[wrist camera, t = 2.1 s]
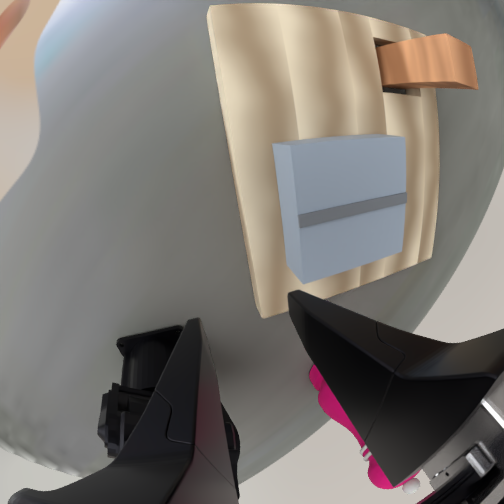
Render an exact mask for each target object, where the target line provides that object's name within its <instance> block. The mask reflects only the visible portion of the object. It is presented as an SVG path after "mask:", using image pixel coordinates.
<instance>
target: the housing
mask: <svg viewBox="0 0 504 504" xmlns="http://www.w3.org/2000/svg"><path fill="white" fill-rule="evenodd" d="M272 147H273V154H274V161H275V169H276V176H277V184H278V192H279V200H280V208H281V217H282V226H283V235H284V244H285V253H286V263H287V266H288V267H289V268H290V269H291V271H292V272H293V273H294V274H295V275H296V277H297V278H298V279H299V280H300V281H301V283H302V284H306V283H310V282H313V281H316V280H319V279H322V278H325V277H329V276H332V275H335V274H338V273H341V272H344V271H347V270H350V269H353V268H356V267H359V266H362V265H365V264H368V263H371V262H374V261H376V260H379V259H382V258H385V257H388V256H391V255H393V254H396V253H399V252H402V246H403V236H404V223H405V205H406V203H407V192H406V145H405V137H401V136H393V135H384V134H364V135H347V136H333V137H322V138H312V139H303V140H294V141H286V142H279V143H272Z"/></svg>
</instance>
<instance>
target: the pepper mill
mask: <svg viewBox="0 0 504 504" xmlns="http://www.w3.org/2000/svg"><path fill="white" fill-rule="evenodd" d="M309 378H310V380H311V382H312V384H313V386H314V387H315V389H316V390H318V391H319V394H318V402H319V404H320V406H321V407H322V409H323V410H324V412H325V413H326V414H327V415H329V416H330V417H331V418H332V419H334V420H335V421H337V422H338V423H340V424H341V425H343V426H344V427H346V428H347V429H348V430H349V431H351V433H353V435H354V436H355V437H356V439H357V440H358V442H359V444H360V446H361V448H362V449H361V450H360V454H361V455H363V457H364V460H365V461H369V468H368V477H369V479H370V480H371V482H372V483H373V484H374V485H375V486H377V487H378V488H382V489H393V488H396V487H399V486H401V485H403V491H404V492H405V493H408V494H411V493H414V492H415V491H416V490H418V488H419V486H420V481H419V480H418V479H417V478H413V477H415V476H416V475H417V474H418V473H419V471H418V472H417V473H416V474H414V475H413V476H411V477H410V478H408V479H407V480H405V481H403V482H402V483H400V484H399V485H397V486H395V487H393V486H392V485H391V483H390V482H389V480H388V479H387V477H386V476H385V474H384V472H383V471H382V469H381V468H380V466H379V465H378V463H377V462H376V460H375V459H374V457H373V455H372V454H371V452H370V451H369V449H368V448H367V446H366V445H365V442H364V441H363V440H362V438H361V437H360V435H359V433H358V432H357V430H356V429H355V427H354V426H353V424H352V423H351V421H350V419H349V418H348V416H347V415H346V413H345V412H344V410H343V408H342V407H341V405H340V404H339V402H338V401H337V399H336V397H335V396H334V394H333V393H332V391H331V390H330V388H329V386H328V385H327V383H326V382H325V380H324V379H323V377H322V375H321V374H320V372H319V371H318V369H317V367H316V366H315V364H314V365H313V367H312V368H311V370H310V373H309Z"/></svg>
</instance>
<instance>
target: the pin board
mask: <svg viewBox="0 0 504 504" xmlns="http://www.w3.org/2000/svg"><path fill="white" fill-rule="evenodd" d="M206 17H207V23H208V30H209V36H210V42H211V48H212V54H213V60H214V66H215V72H216V78H217V84H218V90H219V96H220V102H221V108H222V114H223V120H224V126H225V132H226V138H227V143H228V149H229V155H230V161H231V167H232V173H233V178H234V184H235V190H236V196H237V202H238V207H239V213H240V219H241V224H242V230H243V236H244V241H245V247H246V253H247V258H248V264H249V270H250V275H251V281H252V286H253V292H254V298H255V303H256V307H257V309H258V311H259V313H260V315H261V317H262V319H264V318H267V317H270V316H274V315H277V314H280V313H283V312H286V311H289V309H288V298H287V295H288V293H289V292H291V291H294V290H298V289H299V290H302V291H304V292H307V293H309V294H311V295H314V296H316V297H319V298H321V299H326V298H329V297H332V296H334V295H337V294H340V293H343V292H346V291H348V290H351V289H354V288H357V287H359V286H362V285H365V284H367V283H370V282H373V281H375V280H378V279H380V278H383V277H385V276H388V275H391V274H393V273H396V272H398V271H400V270H403V269H405V268H408V267H410V266H413V265H415V264H417V263H420V262H422V261H424V260H427V259H429V258H431V256H432V249H433V242H434V235H435V227H436V218H437V207H438V192H439V126H438V112H437V101H436V92H435V88H411V89H405V91H406V95H404V94H395V93H386V92H383V91H382V84H381V77H380V71H379V65H378V59H377V54H376V49H375V45H380V46H384V45H388V44H392V43H396V42H400V41H405V40H410V39H415V38H420V37H425V35H424V34H422V33H419V32H416V31H414V30H411V29H408V28H405V27H402V26H399V25H396V24H393V23H389V22H386V21H382V20H379V19H375V18H371V17H367V16H363V15H358V14H354V13H349V12H343V11H338V10H332V9H326V8H318V7H310V6H301V5H288V4H266V3H246V4H223V5H211V6H210V7H209V10H208V13H207V16H206ZM364 134H384V135H393V136H401V137H405V145H406V192H407V203H406V205H405V223H404V236H403V246H402V252H399V253H396V254H393V255H391V256H388V257H385V258H382V259H379V260H376V261H374V262H371V263H368V264H365V265H362V266H359V267H356V268H353V269H350V270H347V271H344V272H341V273H338V274H335V275H332V276H329V277H325V278H322V279H319V280H316V281H313V282H310V283H306V284H302V283H301V281H300V280H299V279H298V278H297V277H296V275H295V274H294V273H293V272H292V271H291V269H290V268H289V267H288V266H287V263H286V253H285V244H284V235H283V226H282V217H281V208H280V200H279V192H278V184H277V176H276V169H275V161H274V154H273V147H272V143H279V142H286V141H294V140H303V139H312V138H322V137H333V136H347V135H364Z"/></svg>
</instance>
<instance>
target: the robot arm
mask: <svg viewBox="0 0 504 504" xmlns="http://www.w3.org/2000/svg"><path fill="white" fill-rule="evenodd" d="M287 298H288V309H289V314H290V317H291V319H292V322H293V324H294V326H295V328H296V330H297V332H298V335H299V337H300V339H301V341H302V343H303V345H304V348H305V350H306V351H307V353H308V355H309V356H310V358H311V360H312V361H313V363H314V364H315V366H316V367H317V369H318V371H319V372H320V374H321V375H322V377H323V379H324V380H325V382H326V383H327V385H328V386H329V388H330V390H331V391H332V393H333V394H334V396H335V397H336V399H337V401H338V402H339V404H340V405H341V407H342V408H343V410H344V412H345V413H346V415H347V416H348V418H349V419H350V421H351V423H352V424H353V426H354V427H355V429H356V430H357V432H358V433H359V435H360V437H361V438H362V440H363V441H364V442H365V445H366V446H367V448H368V449H369V451H370V452H371V454H372V455H373V457H374V459H375V460H376V462H377V463H378V465H379V466H380V468H381V469H382V471H383V472H384V474H385V476H386V477H387V479H388V480H389V482H390V483H391V485H392V486H393V487H395V486H397V485H399V484H400V483H402V482H403V481H405V480H407V479H408V478H410V477H411V476H413V475H414V474H416V473H417V472H418V471H420V470H421V469H423V471H424V472H425V473H426V475H427V476H428V478H429V479H430V484H431V486H432V487H433V489H434V490H435V491H433V492H432V493H431V494H429V495H428V496H427V497H425V498H424V499H422V500H421V501H419V502H418V503H417V504H504V329H501V330H499V331H496V332H493V333H490V334H487V335H484V336H481V337H478V338H475V339H471V340H468V341H465V342H461V343H446V342H441V341H437V340H434V339H430V338H427V337H423V336H419V335H415V334H412V333H409V332H406V331H403V330H399V329H397V328H394V327H391V326H388V325H386V324H383V323H381V322H378V321H377V322H376V321H375V320H373V319H370V318H368V317H365V316H363V315H360V314H358V313H355V312H353V311H351V310H348V309H346V308H343V307H341V306H338V305H336V304H333V303H331V302H328V301H326V300H324V299H321V298H319V297H316V296H314V295H311V294H309V293H307V292H304V291H302V290H299V289H298V290H294V291H291V292H289V293H288V295H287ZM176 331H180V332H176ZM120 343H123V344H120ZM116 345H117V347H118V349H119V350H120V352H121V354H122V355H123V357H124V359H123V368H122V378H121V386H120V385H119V384H117V383H112V390H109V393H106V394H103V397H102V405H101V413H100V418H99V423H98V436H99V437H100V438H101V439H102V440H103V442H104V443H105V448H108V457H109V458H115V459H114V461H113V462H112V463H111V464H109V465H108V466H107V467H105V468H103V469H102V470H99V471H97V472H95V473H93V474H91V475H89V476H87V477H85V478H83V479H81V480H78V481H76V482H74V483H72V484H69V485H67V486H64V487H62V488H59V489H56V490H52V491H37V490H33V489H29V488H24V489H22V490H20V491H18V492H16V493H15V494H13V495H12V496H11V498H10V499H9V501H8V504H239V503H238V499H239V496H240V494H239V488H238V479H237V462H238V459H239V454H240V440H239V435H238V431H237V429H236V427H235V425H234V424H233V422H232V420H231V419H230V417H229V415H228V413H227V412H226V410H225V408H224V406H223V405H222V403H221V401H220V394H219V387H218V380H217V375H216V371H215V367H214V364H213V360H212V356H211V352H210V348H209V344H208V341H207V337H206V334H205V331H204V328H203V325H202V322H201V320H200V318H198V317H197V318H193V319H189V320H188V321H187V323H186V325H185V327H184V329H183V328H182V327H181V326H173V327H169V328H165V329H160V330H156V331H152V332H147V333H143V334H138V335H134V336H129V337H124V338H120V339H118V340H117V344H116Z"/></svg>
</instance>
